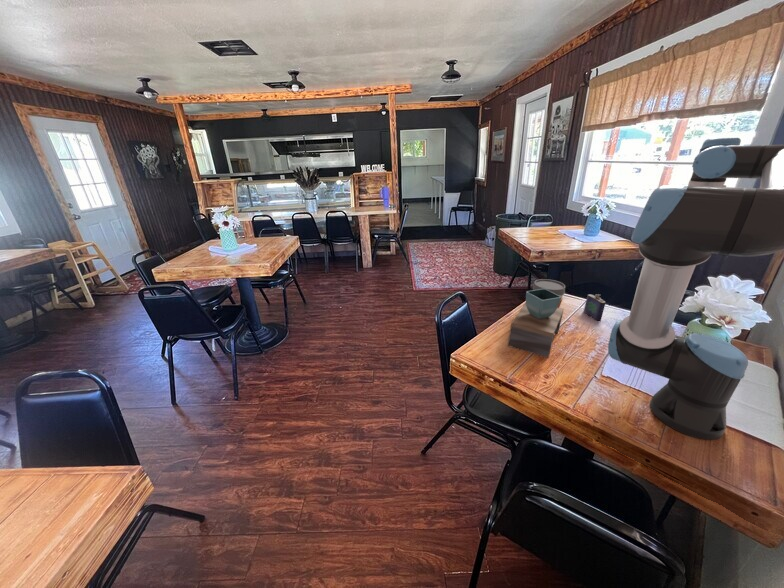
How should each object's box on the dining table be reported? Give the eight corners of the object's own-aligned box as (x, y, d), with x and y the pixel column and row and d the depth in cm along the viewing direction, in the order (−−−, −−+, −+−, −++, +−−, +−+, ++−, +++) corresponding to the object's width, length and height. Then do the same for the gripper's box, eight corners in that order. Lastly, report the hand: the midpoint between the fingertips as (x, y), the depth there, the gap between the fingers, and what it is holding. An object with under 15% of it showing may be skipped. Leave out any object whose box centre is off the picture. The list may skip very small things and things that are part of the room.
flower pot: (540, 308, 124) (544, 287, 120) (557, 318, 116) (562, 296, 113) (521, 312, 122) (525, 291, 118) (538, 322, 114) (542, 300, 110)
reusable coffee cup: (541, 306, 148) (547, 277, 141) (565, 318, 137) (572, 286, 131) (522, 312, 143) (527, 282, 137) (545, 324, 132) (551, 292, 126)
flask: (581, 312, 142) (587, 290, 138) (587, 311, 142) (593, 290, 138) (597, 322, 134) (603, 299, 129) (603, 321, 134) (609, 298, 130)
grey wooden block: (548, 357, 111) (553, 333, 107) (508, 345, 119) (511, 322, 114) (558, 330, 128) (563, 308, 123) (523, 321, 135) (526, 300, 131)
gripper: (729, 203, 80) (697, 280, 89) (710, 192, 99) (686, 257, 107) (690, 201, 84) (663, 275, 93) (679, 191, 103) (658, 254, 111)
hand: (675, 265), depth 100 cm, fingers open, 13 cm apart
